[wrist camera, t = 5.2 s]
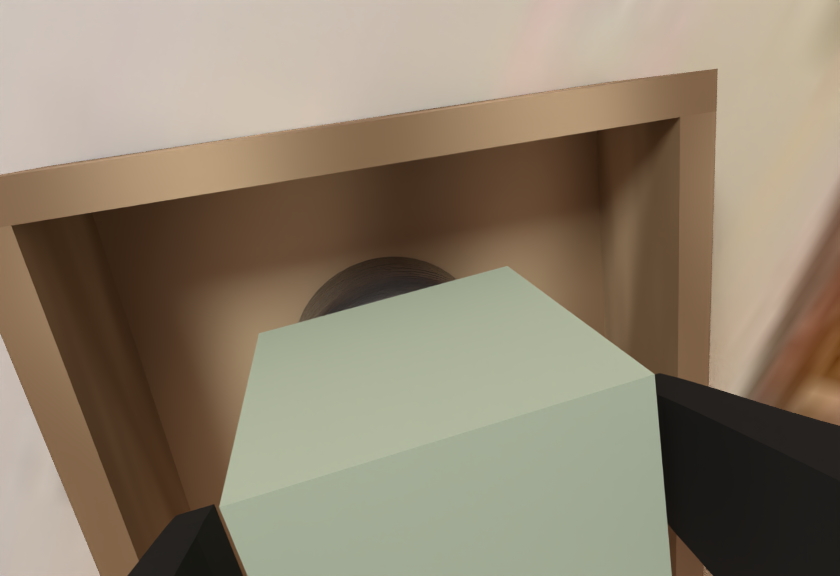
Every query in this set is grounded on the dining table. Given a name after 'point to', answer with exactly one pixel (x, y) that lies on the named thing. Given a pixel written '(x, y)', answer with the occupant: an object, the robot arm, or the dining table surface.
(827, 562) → the robot arm
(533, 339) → the pale green cube
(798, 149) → the dining table surface
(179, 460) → the wooden tray
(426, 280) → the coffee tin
